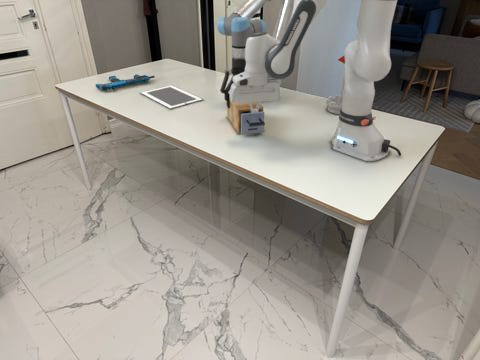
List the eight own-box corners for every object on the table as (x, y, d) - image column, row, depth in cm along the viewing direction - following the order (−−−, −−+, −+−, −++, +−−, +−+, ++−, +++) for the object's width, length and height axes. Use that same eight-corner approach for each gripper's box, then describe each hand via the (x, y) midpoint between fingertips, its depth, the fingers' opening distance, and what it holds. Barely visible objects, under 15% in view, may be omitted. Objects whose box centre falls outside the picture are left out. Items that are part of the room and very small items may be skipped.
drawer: (268, 137, 142) (269, 117, 137) (245, 140, 140) (245, 120, 135) (250, 116, 161) (251, 97, 156) (230, 118, 159) (230, 99, 154)
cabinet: (262, 131, 150) (263, 107, 144) (238, 134, 147) (238, 110, 141) (249, 114, 166) (249, 92, 160) (227, 117, 163) (226, 94, 157)
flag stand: (341, 103, 177) (352, 43, 161) (357, 112, 167) (370, 48, 150) (320, 107, 173) (328, 45, 157) (335, 116, 163) (345, 51, 146)
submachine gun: (140, 69, 224) (158, 75, 207) (141, 74, 225) (159, 81, 209) (88, 79, 205) (103, 86, 188) (89, 85, 207) (105, 93, 190)
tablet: (140, 93, 192) (140, 92, 192) (171, 85, 203) (171, 85, 203) (170, 109, 171) (170, 108, 171) (202, 99, 183) (202, 99, 182)
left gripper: (263, 53, 152) (261, 100, 164) (211, 57, 146) (214, 105, 158) (269, 57, 146) (267, 106, 157) (215, 61, 140) (217, 111, 152)
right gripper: (278, 73, 135) (275, 107, 142) (228, 77, 130) (228, 111, 138) (284, 78, 130) (281, 112, 137) (232, 82, 125) (232, 117, 132)
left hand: (240, 105), depth 158 cm, fingers closed on cabinet, 11 cm apart
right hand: (254, 112), depth 137 cm, fingers closed
